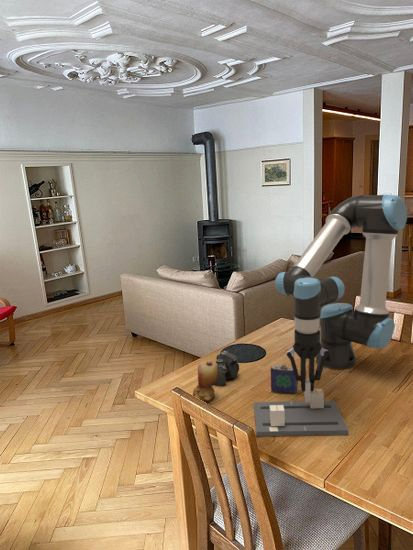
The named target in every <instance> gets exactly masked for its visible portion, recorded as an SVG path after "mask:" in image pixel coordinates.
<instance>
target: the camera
mask: <svg viewBox="0 0 413 550" xmlns="http://www.w3.org/2000/svg"><path fill="white" fill-rule="evenodd" d="M214 363H217V365H218V378H217V381H216V383H215V384H214V386H218V387H223V386H225V385H226V384H227V383H226V381H227V380H229V379H232V378H233V379H234V378H236V377H237V375H238V374H239V370H240V365H239V363H238V356H237V355H235V354H233V353H231V352H230V351H229V352H228V351H227V350H226V351H225V350H223V351H222V352H220V353H219V354H217V355H216V360H215V362H214Z"/></svg>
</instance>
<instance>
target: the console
mask: <svg viewBox="0 0 413 550" xmlns="http://www.w3.org/2000/svg"><path fill="white" fill-rule="evenodd" d="M270 405H283V406H284V414H285V426H271V424H270ZM253 414H254V422H255V431H256V433H255V434H256V437H288V436H289V437H292V436H293V437H294V436H295V437H297V436H298V437H299V436H300V437H302V436H306V437H308V436H311V437H312V436H348V435H349V429H348V427H347V424H346V422H345V420H344V418H343V416H342V413H341V411H340V409H339V407H338V405H337V402H336V401H335V400H324V408H310V405H309V402H305V400H301V401H299V400H298V401H297V400H295V401H292V400H289V401H253Z"/></svg>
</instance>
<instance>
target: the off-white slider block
mask: <svg viewBox="0 0 413 550" xmlns="http://www.w3.org/2000/svg"><path fill="white" fill-rule="evenodd" d="M324 399H325V394H324V390H323V388H314V391H310V402H309V405H310V408H324V401H325V400H324Z"/></svg>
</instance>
